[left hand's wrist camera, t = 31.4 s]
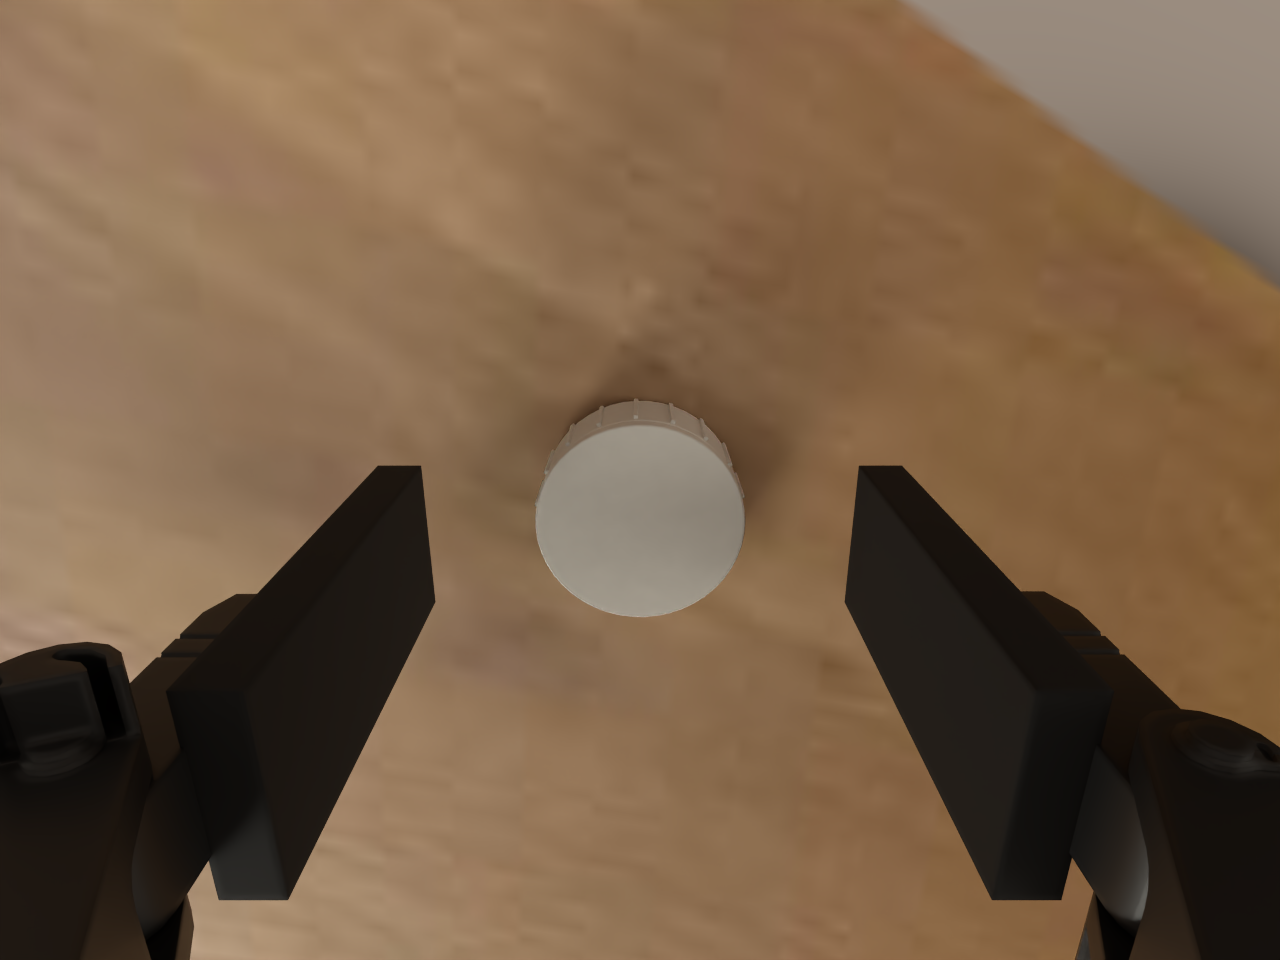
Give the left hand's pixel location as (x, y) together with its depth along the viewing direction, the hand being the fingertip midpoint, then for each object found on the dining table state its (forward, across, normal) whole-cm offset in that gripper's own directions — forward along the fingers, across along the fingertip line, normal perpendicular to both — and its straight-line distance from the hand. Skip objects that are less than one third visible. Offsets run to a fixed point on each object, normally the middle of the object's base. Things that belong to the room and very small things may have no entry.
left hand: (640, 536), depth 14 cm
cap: (+1, 0, 0) cm, 1 cm away
